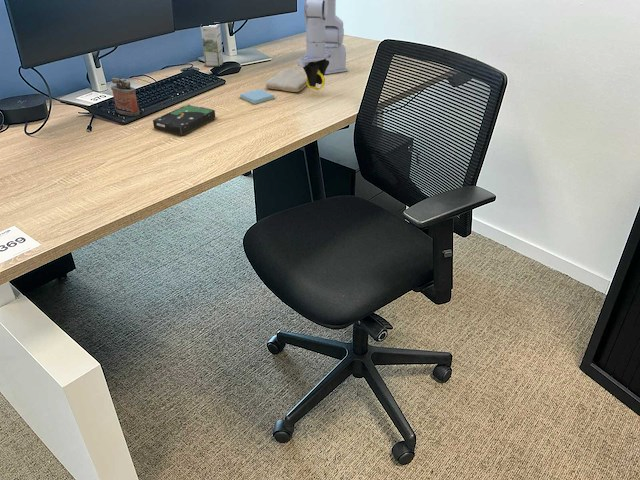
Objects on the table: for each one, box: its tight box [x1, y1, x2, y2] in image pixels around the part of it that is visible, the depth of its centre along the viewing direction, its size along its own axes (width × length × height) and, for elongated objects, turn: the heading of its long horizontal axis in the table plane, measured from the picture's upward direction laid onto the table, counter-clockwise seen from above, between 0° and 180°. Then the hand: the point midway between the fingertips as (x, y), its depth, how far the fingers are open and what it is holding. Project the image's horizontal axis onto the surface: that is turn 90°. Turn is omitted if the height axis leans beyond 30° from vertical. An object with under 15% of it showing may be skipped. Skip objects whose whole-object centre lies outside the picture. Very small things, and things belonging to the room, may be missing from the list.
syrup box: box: [200, 23, 224, 68], centre depth 194 cm, size 6×6×14 cm
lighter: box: [110, 77, 141, 117], centre depth 155 cm, size 8×3×10 cm, turn 65°
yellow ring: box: [306, 70, 326, 91], centre depth 169 cm, size 6×3×6 cm, turn 67°
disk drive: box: [152, 104, 217, 136], centre depth 150 cm, size 10×3×15 cm
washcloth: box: [265, 67, 308, 93], centre depth 180 cm, size 12×18×3 cm, turn 160°
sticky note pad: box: [239, 88, 275, 105], centre depth 168 cm, size 8×8×1 cm
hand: (315, 84), depth 170 cm, fingers closed on yellow ring, 2 cm apart
